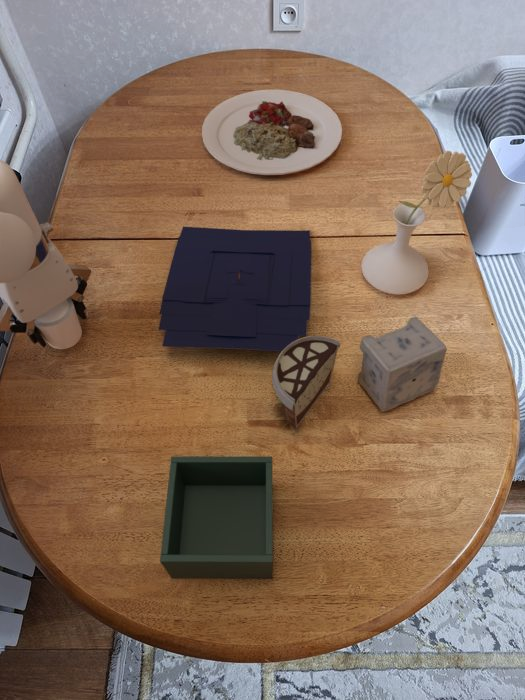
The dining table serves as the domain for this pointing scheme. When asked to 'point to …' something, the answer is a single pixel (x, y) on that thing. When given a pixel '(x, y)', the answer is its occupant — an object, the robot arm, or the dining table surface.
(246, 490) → the open square box
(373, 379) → the incense holder
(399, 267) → the flower in vase
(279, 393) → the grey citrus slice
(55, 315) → the light grey rounded piece
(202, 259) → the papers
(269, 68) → the dining table surface
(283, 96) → the plated food
